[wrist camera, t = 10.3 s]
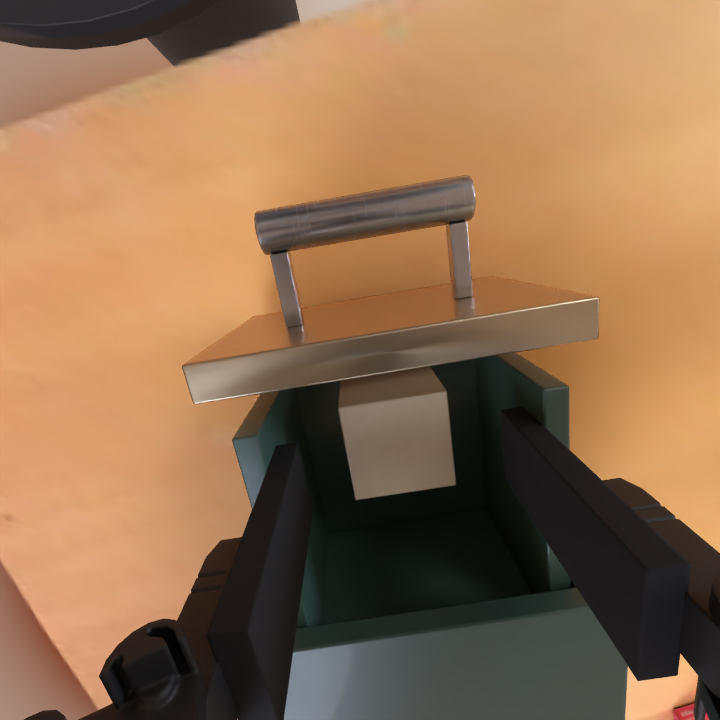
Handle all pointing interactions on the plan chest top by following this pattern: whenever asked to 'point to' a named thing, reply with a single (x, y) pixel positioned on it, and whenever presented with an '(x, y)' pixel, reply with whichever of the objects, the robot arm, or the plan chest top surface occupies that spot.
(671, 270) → the plan chest top surface
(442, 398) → the block
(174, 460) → the plan chest top surface
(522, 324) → the drawer
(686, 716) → the ink box
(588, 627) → the cabinet
